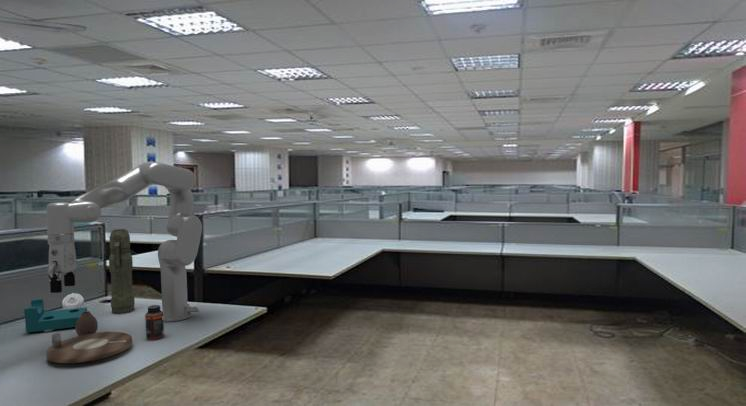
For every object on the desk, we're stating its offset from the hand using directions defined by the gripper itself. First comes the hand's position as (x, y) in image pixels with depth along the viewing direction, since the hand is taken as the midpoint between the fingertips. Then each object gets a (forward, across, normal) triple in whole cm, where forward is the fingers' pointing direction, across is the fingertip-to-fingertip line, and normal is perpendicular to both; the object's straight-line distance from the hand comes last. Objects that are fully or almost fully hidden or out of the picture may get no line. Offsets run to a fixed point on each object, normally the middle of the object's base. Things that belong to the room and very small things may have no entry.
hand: (63, 289), depth 161 cm
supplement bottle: (+20, +2, -28) cm, 34 cm away
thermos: (+19, +41, -5) cm, 45 cm away
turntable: (+18, -9, -12) cm, 23 cm away
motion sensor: (+20, +45, +16) cm, 52 cm away
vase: (+20, +10, -3) cm, 22 cm away
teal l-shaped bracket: (+20, +23, +12) cm, 33 cm away
